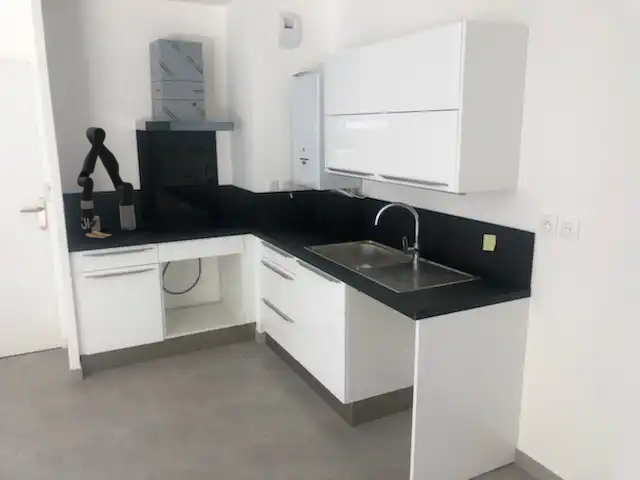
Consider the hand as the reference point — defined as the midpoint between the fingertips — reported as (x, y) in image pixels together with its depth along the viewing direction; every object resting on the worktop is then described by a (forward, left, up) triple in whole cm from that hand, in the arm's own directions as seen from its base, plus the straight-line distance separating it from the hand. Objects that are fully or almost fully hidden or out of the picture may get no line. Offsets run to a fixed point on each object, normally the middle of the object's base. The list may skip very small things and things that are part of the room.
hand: (89, 233), depth 344 cm
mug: (-12, -8, -3) cm, 15 cm away
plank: (-2, +3, -2) cm, 4 cm away
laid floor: (-2, +6, -3) cm, 7 cm away
